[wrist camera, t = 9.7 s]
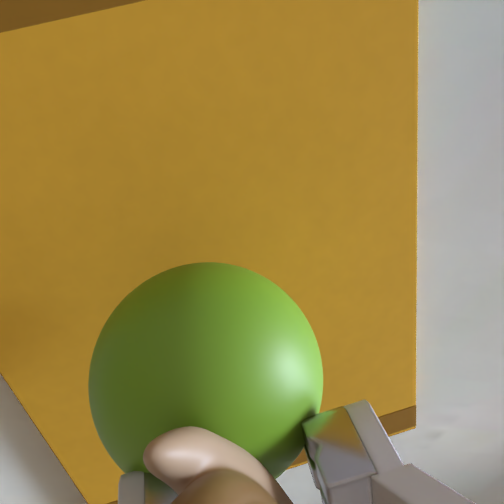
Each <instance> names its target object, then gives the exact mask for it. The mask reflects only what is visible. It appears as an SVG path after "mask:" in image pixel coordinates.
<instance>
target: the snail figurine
mask: <svg viewBox="0 0 504 504" xmlns="http://www.w3.org/2000/svg"><path fill="white" fill-rule="evenodd" d="M88 391H89V403H90V409H91V414H92V418H93V422H94V425H95V428H96V430H97V433H98V435H99V438H100V440H101V442H102V444H103V445H104V447H105V449H106V450H107V452H108V454H109V455H110V457H111V458H112V459H113V461H114V462H115V463H116V464H117V465H118V466H119V468H120V469H121V470H122V471H123V472H124V473H125V474H126V473H129V472H132V471H142V472H146V473H151V474H153V475H154V476H155V477H157V478H158V479H160V480H161V481H163V482H164V483H166V484H167V485H168V486H170V487H171V488H172V489H173V490H174V491H175V492H176V493H177V494H178V496H177V497H176V498H175V499H174V500H173V502H172V503H171V504H293V502H292V501H291V500H290V499H289V497H288V496H287V495H286V493H285V492H284V490H283V489H282V488H281V486H280V485H279V484H278V482H277V481H276V480H275V479H276V478H277V477H279V476H280V475H281V474H282V473H283V472H284V471H285V470H286V469H287V468H288V467H289V466H290V465H291V464H292V463H293V462H294V460H295V459H296V458H297V457H298V455H299V454H300V453H301V451H302V450H303V448H304V445H305V441H304V439H303V432H302V427H301V422H302V421H303V420H304V419H305V418H307V417H310V416H313V415H316V414H319V411H320V406H321V401H322V394H323V367H322V360H321V355H320V350H319V347H318V343H317V340H316V337H315V335H314V332H313V330H312V328H311V326H310V324H309V322H308V320H307V319H306V317H305V315H304V314H303V312H302V311H301V309H300V308H299V307H298V305H297V304H296V303H295V302H294V301H293V300H292V298H291V297H290V296H289V295H288V294H287V293H285V292H284V291H283V290H282V289H281V288H280V287H278V286H277V285H276V284H275V283H273V282H272V281H270V280H269V279H267V278H265V277H264V276H262V275H260V274H258V273H256V272H253V271H251V270H248V269H246V268H243V267H239V266H235V265H231V264H225V263H215V262H202V263H192V264H186V265H182V266H178V267H175V268H171V269H169V270H166V271H164V272H161V273H159V274H157V275H155V276H153V277H151V278H150V279H148V280H146V281H145V282H143V283H142V284H140V285H139V286H138V287H136V288H135V289H134V290H133V291H132V292H130V293H129V294H128V295H127V296H126V297H125V298H124V299H123V300H122V301H121V302H120V304H119V305H118V306H117V307H116V308H115V310H114V311H113V312H112V314H111V315H110V317H109V318H108V320H107V321H106V323H105V325H104V327H103V328H102V330H101V332H100V335H99V337H98V339H97V342H96V345H95V347H94V351H93V354H92V359H91V363H90V370H89V381H88Z"/></svg>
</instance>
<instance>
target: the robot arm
mask: <svg viewBox="0 0 504 504" xmlns="http://www.w3.org/2000/svg"><path fill="white" fill-rule="evenodd" d="M301 427H302V432H303V439H304V441H305V445H304V449H305V454H306V458H307V461H308V465H309V468H310V471H311V474H312V477H313V480H314V483H315V486H316V488H317V489H319V490H320V493H321V498H322V503H323V504H475V503H474V502H472V501H470V500H469V499H467V498H466V497H464V496H463V495H461V494H459V493H458V492H456V491H455V490H453V489H451V488H450V487H448V486H447V485H445V484H443V483H442V482H440V481H439V480H437V479H435V478H434V477H432V476H431V475H429V474H427V473H426V472H424V471H423V470H421V469H419V468H418V467H416V466H415V465H413V464H412V463H411V464H407V465H404V464H403V462H402V460H401V458H400V457H399V455H398V453H397V451H396V449H395V448H394V446H393V444H392V442H391V440H390V439H389V437H388V435H387V433H386V432H385V430H384V428H383V426H382V424H381V423H380V421H379V419H378V417H377V415H376V414H375V412H374V410H373V408H372V407H371V405H370V403H369V402H368V401H367V400H365V399H364V400H361V401H358V402H355V403H352V404H349V405H346V406H343V407H342V406H340V407H337V408H334V409H331V410H328V411H325V412H322V413H319V414H316V415H313V416H310V417H307V418H305V419H304V420H303V421H302V422H301ZM177 496H178V494H177V493H176V492H175V491H174V490H173V489H172V488H171V487H170V486H168V485H167V484H166V483H164V482H163V481H161V480H160V479H158V478H157V477H155V476H154V475H153V474H151V473H146V472H142V471H132V472H129V473H126V474H123V475H121V477H120V480H119V484H118V504H171V503H172V502H173V500H174V499H175V498H176V497H177Z"/></svg>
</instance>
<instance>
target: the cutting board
mask: <svg viewBox="0 0 504 504" xmlns="http://www.w3.org/2000/svg"><path fill="white" fill-rule="evenodd" d="M417 133H418V0H0V373H1V375H2V376H3V378H4V379H5V381H6V382H7V384H8V385H9V387H10V388H11V390H12V391H13V393H14V394H15V396H16V397H17V399H18V400H19V402H20V403H21V405H22V406H23V408H24V409H25V411H26V412H27V414H28V415H29V417H30V418H31V420H32V421H33V423H34V424H35V426H36V427H37V429H38V430H39V432H40V433H41V435H42V436H43V437H44V439H45V440H46V442H47V443H48V445H49V446H50V448H51V449H52V451H53V452H54V454H55V455H56V457H57V458H58V460H59V461H60V463H61V464H62V466H63V467H64V469H65V470H66V472H67V473H68V475H69V476H70V478H71V479H72V481H73V482H74V484H75V485H76V487H77V488H78V490H79V491H80V493H81V494H82V496H83V497H84V499H85V500H86V502H87V503H88V504H118V484H119V480H120V477H121V475H123V474H125V473H124V472H123V471H122V470H121V469H120V468H119V466H118V465H117V464H116V463H115V462H114V461H113V459H112V458H111V457H110V455H109V454H108V452H107V450H106V449H105V447H104V445H103V444H102V442H101V440H100V438H99V435H98V433H97V430H96V428H95V425H94V422H93V418H92V414H91V409H90V403H89V391H88V381H89V370H90V363H91V359H92V354H93V351H94V347H95V345H96V342H97V339H98V337H99V335H100V332H101V330H102V328H103V327H104V325H105V323H106V321H107V320H108V318H109V317H110V315H111V314H112V312H113V311H114V310H115V308H116V307H117V306H118V305H119V304H120V302H121V301H122V300H123V299H124V298H125V297H126V296H127V295H128V294H129V293H130V292H132V291H133V290H134V289H135V288H136V287H138V286H139V285H140V284H142V283H143V282H145V281H146V280H148V279H150V278H151V277H153V276H155V275H157V274H159V273H161V272H164V271H166V270H169V269H171V268H175V267H178V266H182V265H186V264H192V263H202V262H215V263H225V264H231V265H235V266H239V267H243V268H246V269H248V270H251V271H253V272H256V273H258V274H260V275H262V276H264V277H265V278H267V279H269V280H270V281H272V282H273V283H275V284H276V285H277V286H278V287H280V288H281V289H282V290H283V291H284V292H285V293H287V294H288V295H289V296H290V297H291V298H292V300H293V301H294V302H295V303H296V304H297V305H298V307H299V308H300V309H301V311H302V312H303V314H304V315H305V317H306V319H307V320H308V322H309V324H310V326H311V328H312V330H313V332H314V335H315V337H316V340H317V343H318V347H319V350H320V355H321V360H322V367H323V394H322V401H321V406H320V411H319V413H322V412H325V411H328V410H331V409H334V408H337V407H340V406H342V407H343V406H346V405H349V404H352V403H355V402H358V401H361V400H364V399H365V400H367V401H368V402H369V403H370V405H371V407H372V408H373V410H374V412H375V414H376V415H377V417H378V419H379V421H380V423H381V424H382V426H383V428H384V430H385V432H386V433H387V435H388V437H389V436H392V435H396V434H399V433H402V432H405V431H408V430H411V429H414V428H416V286H417ZM306 463H308V461H307V458H306V454H305V449H304V448H303V450H302V451H301V453H300V454H299V455H298V457H297V458H296V459H295V460H294V462H293V463H292V464H291V465H290V466H289V467H288V468H287V469H290V468H294V467H297V466H300V465H303V464H306ZM287 469H286V470H287Z"/></svg>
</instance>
